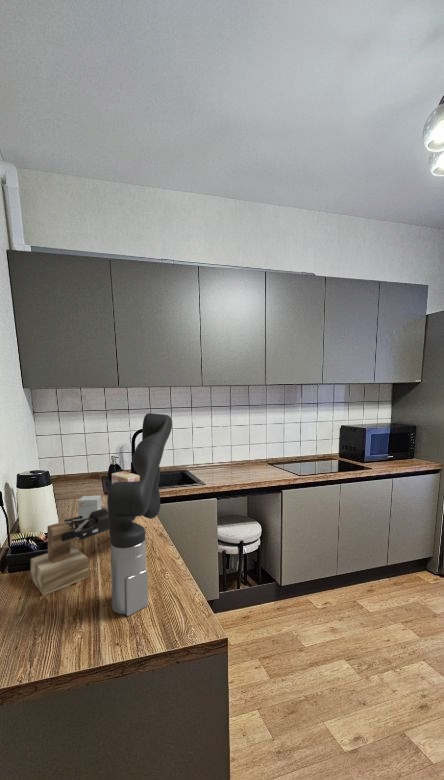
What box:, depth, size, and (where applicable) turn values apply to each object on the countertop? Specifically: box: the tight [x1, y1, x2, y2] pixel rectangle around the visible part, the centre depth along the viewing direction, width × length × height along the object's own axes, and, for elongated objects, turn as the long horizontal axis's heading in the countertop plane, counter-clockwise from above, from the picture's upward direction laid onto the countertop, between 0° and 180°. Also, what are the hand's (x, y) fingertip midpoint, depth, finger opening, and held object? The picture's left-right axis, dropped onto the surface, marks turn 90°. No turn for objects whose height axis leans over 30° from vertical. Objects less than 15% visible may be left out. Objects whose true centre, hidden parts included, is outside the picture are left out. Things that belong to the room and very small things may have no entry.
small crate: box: [47, 521, 71, 563], centre depth 104 cm, size 5×5×10 cm
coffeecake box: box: [111, 470, 141, 518], centre depth 156 cm, size 15×7×20 cm, turn 46°
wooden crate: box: [30, 544, 91, 596], centre depth 103 cm, size 14×14×6 cm
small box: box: [77, 495, 102, 518], centre depth 142 cm, size 8×6×13 cm
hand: (57, 534), depth 103 cm, fingers open, 8 cm apart
